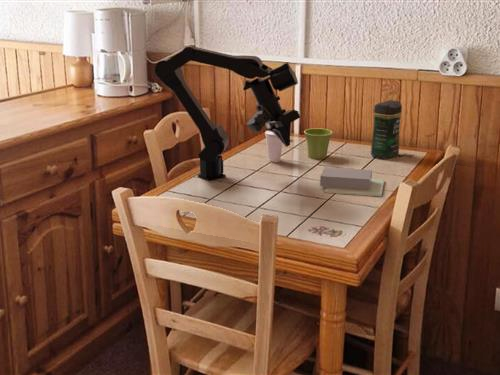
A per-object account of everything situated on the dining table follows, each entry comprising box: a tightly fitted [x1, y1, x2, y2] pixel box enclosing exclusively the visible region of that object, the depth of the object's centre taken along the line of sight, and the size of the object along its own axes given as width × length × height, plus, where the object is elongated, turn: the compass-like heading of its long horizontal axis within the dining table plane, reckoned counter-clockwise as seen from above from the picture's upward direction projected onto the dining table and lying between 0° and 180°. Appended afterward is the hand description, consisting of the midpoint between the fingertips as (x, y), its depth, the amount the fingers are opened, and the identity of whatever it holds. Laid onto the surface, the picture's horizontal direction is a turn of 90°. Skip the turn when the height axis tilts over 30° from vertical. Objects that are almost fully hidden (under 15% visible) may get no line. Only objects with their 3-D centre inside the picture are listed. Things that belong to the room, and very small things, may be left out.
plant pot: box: [303, 127, 333, 160], centre depth 226 cm, size 9×9×9 cm
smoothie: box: [264, 130, 284, 163], centre depth 221 cm, size 6×6×14 cm
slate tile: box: [319, 166, 373, 190], centre depth 198 cm, size 3×9×14 cm
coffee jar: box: [370, 99, 403, 160], centre depth 226 cm, size 10×8×19 cm
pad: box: [323, 178, 385, 197], centre depth 198 cm, size 16×14×1 cm
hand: (288, 145), depth 200 cm, fingers closed
